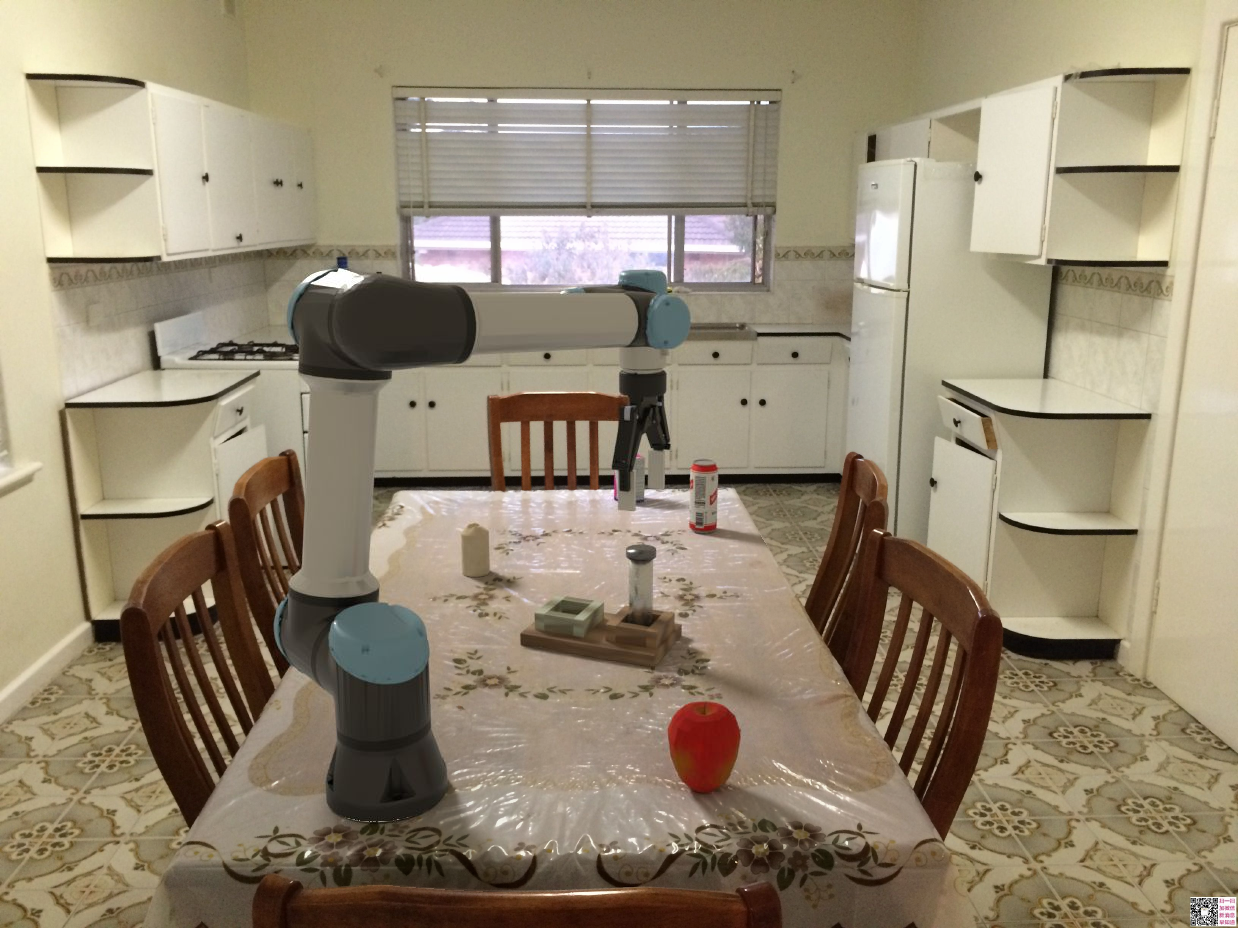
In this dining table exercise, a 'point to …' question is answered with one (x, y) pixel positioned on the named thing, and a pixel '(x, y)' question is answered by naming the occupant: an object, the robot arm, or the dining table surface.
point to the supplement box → (640, 479)
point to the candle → (475, 550)
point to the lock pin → (641, 583)
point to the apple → (704, 744)
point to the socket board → (601, 632)
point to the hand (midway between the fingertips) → (642, 498)
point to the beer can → (703, 496)
